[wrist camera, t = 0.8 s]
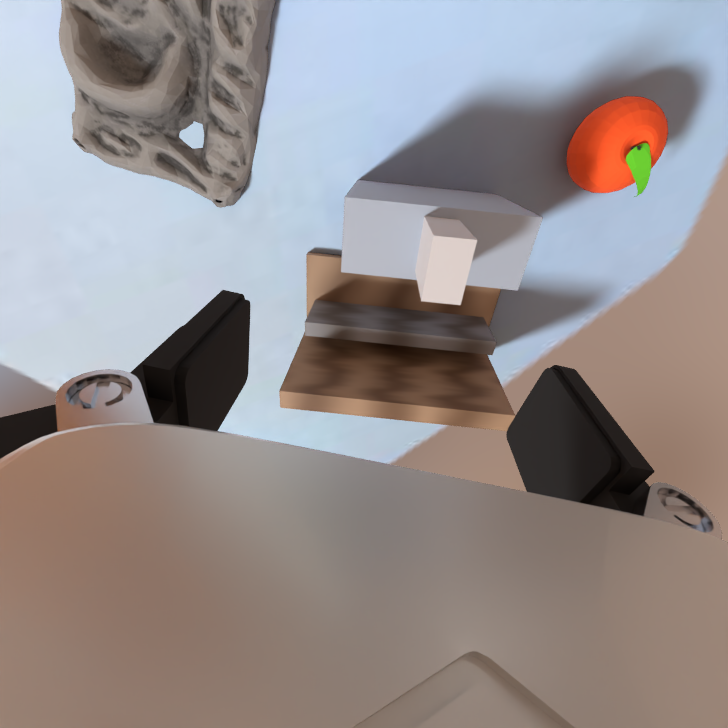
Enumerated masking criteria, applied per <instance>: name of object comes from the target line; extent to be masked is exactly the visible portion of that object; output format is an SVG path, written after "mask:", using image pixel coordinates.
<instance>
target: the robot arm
mask: <svg viewBox="0 0 728 728" xmlns="http://www.w3.org/2000/svg"><path fill="white" fill-rule="evenodd" d="M249 329H250V302H249V301H248V300H245V298H244V295H243V294H239V293H234V292H230V291H225V290H223V291H221V292H220V293H219V294H218V295H217V296H216V297H215V298H214V299H212V300H211V301H210V302H209V303H208V304H207V305H206V306H205V307H204V308H203V309H202V310H201V311H199V312H198V313H197V314H196V315H195V316H194V317H193V318H192V319H191V320H190V321H189V322H188V323H186V324H185V325H184V326H182V327H180V328H179V329H178V330H177V331H175V332H174V333H173V334H172V335H171V336H170V337H169V338H168V339H167V340H166V341H165V342H163V343H162V344H161V345H160V346H159V347H158V348H157V349H156V350H155V351H154V352H152V353H151V354H150V355H149V356H148V357H147V358H146V359H145V360H144V361H143V362H142V363H140V364H139V365H138V366H137V367H136V368H135V369H134V370H133V371H132V372H131V373H129V372H125V371H122V370H111V369H107V370H96V371H92V372H88V373H84V374H81V375H79V376H76V377H74V378H72V379H70V380H69V381H67V382H66V383H64V384H63V385H62V386H61V387H60V389H59V390H58V391H57V393H56V397H55V401H56V402H55V403H56V404H55V405H51V406H47V407H43V408H38V409H34V410H31V411H26V412H22V413H18V414H14V415H10V416H5V417H2V418H0V728H728V542H726V541H724V540H722V531H721V527H720V524H719V523H718V521H717V520H716V518H715V517H714V516H713V514H712V513H711V512H710V511H709V510H708V509H707V508H706V507H705V506H704V505H703V504H701V503H700V502H699V501H698V500H697V499H695V498H694V497H692V496H691V495H690V494H688V493H686V492H685V491H683V490H681V489H679V488H677V487H675V486H672V485H669V484H667V483H661V482H658V483H653V484H652V485H651V486H650V487H649V486H648V484H647V483H646V482H645V480H646V479H647V478H648V477H649V476H650V475H652V473H654V470H653V469H652V467H651V466H650V465H649V464H648V462H647V461H646V460H645V459H644V457H643V456H642V455H641V453H640V452H639V451H638V449H637V448H636V447H635V446H634V445H633V443H632V442H631V440H630V439H629V438H628V437H627V435H626V434H625V433H624V431H623V430H622V429H621V428H620V426H619V425H618V424H617V422H616V421H615V420H614V419H613V417H612V416H611V415H610V413H609V412H608V411H607V410H606V408H605V407H604V406H603V404H602V403H601V402H600V401H599V399H598V398H597V397H596V396H595V394H594V393H593V392H592V390H591V389H590V388H589V386H588V385H587V384H586V383H585V381H584V380H583V379H582V378H581V376H580V375H579V374H578V372H577V371H576V370H575V369H571V368H567V367H562V366H558V365H554V366H552V367H551V368H547V369H545V371H544V372H543V373H542V375H541V376H540V378H539V380H538V381H537V383H536V384H535V386H534V388H533V389H532V391H531V392H530V394H529V395H528V397H527V399H526V400H525V402H524V403H523V405H522V407H521V408H520V410H519V412H518V413H517V415H516V416H515V418H514V419H513V421H512V423H511V424H510V426H509V427H508V430H507V440H508V443H509V445H510V448H511V450H512V453H513V456H514V458H515V461H516V464H517V466H518V469H519V472H520V475H521V477H522V480H523V482H524V485H525V487H526V490H527V492H525V491H520V490H515V489H510V488H505V487H500V486H495V485H490V484H485V483H480V482H475V481H470V480H465V479H460V478H455V477H450V476H445V475H440V474H435V473H430V472H425V471H420V470H415V469H410V468H405V467H400V466H395V465H390V464H385V463H380V462H375V461H370V460H365V459H360V458H355V457H350V456H345V455H340V454H335V453H330V452H325V451H320V450H315V449H309V448H304V447H299V446H294V445H289V444H284V443H279V442H273V441H268V440H263V439H258V438H253V437H248V436H243V435H237V434H231V433H225V432H219V431H218V429H219V427H220V426H221V424H222V422H223V421H224V419H225V417H226V415H227V414H228V412H229V410H230V409H231V407H232V405H233V404H234V402H235V400H236V398H237V397H238V395H239V393H240V392H241V390H242V388H243V386H244V385H245V383H246V380H247V376H248V360H249Z"/></svg>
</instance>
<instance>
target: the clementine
mask: <svg viewBox="0 0 728 728" xmlns="http://www.w3.org/2000/svg"><path fill="white" fill-rule="evenodd" d="M667 135H668V125H667V119H666V117H665V115H664V112H663V111H662V109H661V108H660V107H659V106H658V105H657V104H656V103H655V102H654V101H652V100H649V99H647V98H644V97H633V96H625V97H621V98H618V99H614V100H612V101H609V102H607V103H605V104H604V105H602V106H600V107H598V108H597V109H595V110H594V111H593V112H592V113H590V114H589V115H588V116H587V117H586V118H585V119H584V120H583V121H582V123H581V124H580V125H579V127H578V128H577V129H576V131H575V133H574V135H573V137H572V139H571V141H570V144H569V147H568V151H567V168H568V173H569V175H570V177H571V178H572V180H573V182H575V183H576V184H577V185H578V186H580V187H581V188H582V189H584V190H587V191H590V192H593V193H609V192H614V191H618V190H621V189H623V188H625V187H627V186H629V185H631V184H633V183H635V182H636V185H637V189H638V194H637V196H638V195H639V194H641V193H642V192H643V190H644V189H645V188H646V186H647V183H648V180H649V176H650V171H651V168H652V167H653V166H654V165H655V163H656V162H657V160H658V159H659V157H660V156H661V154H662V151H663V149H664V147H665V144H666V140H667ZM635 197H636V196H635Z"/></svg>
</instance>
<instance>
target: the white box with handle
mask: <svg viewBox="0 0 728 728" xmlns="http://www.w3.org/2000/svg"><path fill="white" fill-rule="evenodd" d="M542 219H543V217H541V216H539V215H537V214H535V213H533V212H531V211H529V210H527V209H525V208H523V207H521V206H519V205H517V204H515V203H513V202H511V201H509V200H507V199H505V198H503V197H501V196H499V195H497V194H490V193H481V192H471V191H461V190H452V189H442V188H432V187H423V186H413V185H403V184H394V183H384V182H374V181H365V180H357V181H356V183H355V184H354V185H353V187H352V188H351V189H350V191H349V192H348V193H347V195H346V196H345V202H344V222H343V241H342V261H341V272H344V273H354V274H364V275H373V276H383V277H392V278H402V279H412V280H417V283H418V288H419V293H420V298H421V301H424V302H434V303H444V304H453V305H461V302H462V298H463V294H464V290H465V286H466V285H469V286H479V287H489V288H498V289H508V290H517V291H518V288H519V286H520V283H521V280H522V277H523V274H524V271H525V268H526V265H527V262H528V260H529V257H530V254H531V251H532V248H533V245H534V242H535V239H536V236H537V234H538V231H539V228H540V225H541V222H542Z"/></svg>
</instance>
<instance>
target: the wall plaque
mask: <svg viewBox="0 0 728 728" xmlns="http://www.w3.org/2000/svg"><path fill="white" fill-rule="evenodd" d="M61 4H62V14H61V22H60V29H59V41H60V48H61V52H62V55H63V58H64V60H65V63H66V65H67V68H68V70H69V73H70V75H71V77H72V80H73V83H74V88H75V112H74V113H73V114H72V124H73V136H72V137H73V140H74V142H75V143H76V144H77V145H78V146H79V147H80V148H81V149H82V150H83V151H84V152H87V153H91V154H94V155H95V156H97V157H99V158H100V159H101V160H103V161H104V162H105V163H108V164H110V165H113V166H116V167H120V168H123V169H126V170H129V171H132V172H135V173H138V174H144V175H151V176H156V177H159V178H162V179H166V180H169V181H172V182H175V183H178V184H180V185H182V186H184V187H187V188H190V189H191V190H193V191H194V192H196V193H198V194H200V195H202V196H203V197H205V198H207V199H209V200H211V201H212V202H213V203H214V204H215V205H216V206H217V207H226V206H231V205H234V204H235V203H236V202H237V201H238V199H239V198H240V195H241V192H242V190H243V188H244V187H245V185H246V183H247V180H248V177H249V174H250V171H251V167H252V162H253V158H254V153H255V148H256V142H257V137H256V128H257V123H258V119H259V114H260V110H261V106H262V100H263V95H264V90H265V84H266V77H267V65H268V42H269V36H270V25H271V16H272V13H273V9H274V6H275V0H61ZM193 121H196V122H198V123H202V124H203V129H204V145H203V148H197V149H192V148H191V147H189V146H188V145H187V144H186V143H185V142H183V141H182V140H181V139H180V138H179V133H180V131H181V130H182V129H186V128H187V127H188V126H190V125H191V124H192V123H193ZM216 199H217V200H220V201H222V202H219V201H217V200H216Z"/></svg>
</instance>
